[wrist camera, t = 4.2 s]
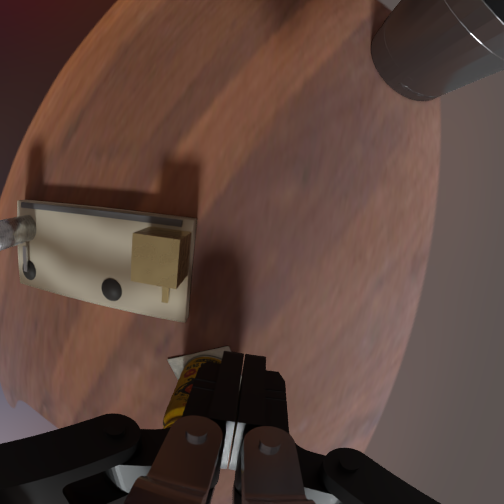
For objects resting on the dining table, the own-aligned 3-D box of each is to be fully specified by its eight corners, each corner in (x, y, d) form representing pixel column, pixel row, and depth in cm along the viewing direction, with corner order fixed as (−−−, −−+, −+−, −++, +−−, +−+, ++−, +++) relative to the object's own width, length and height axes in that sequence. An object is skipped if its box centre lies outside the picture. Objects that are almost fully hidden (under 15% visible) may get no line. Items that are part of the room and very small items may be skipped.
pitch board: (25, 199, 28) (15, 200, 26) (197, 218, 28) (192, 220, 26) (27, 279, 30) (18, 283, 29) (188, 316, 30) (184, 323, 29)
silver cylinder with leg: (19, 213, 27) (-16, 221, 21) (36, 215, 27) (0, 223, 21) (21, 267, 28) (-12, 282, 23) (37, 272, 28) (4, 288, 23)
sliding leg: (150, 226, 27) (132, 233, 23) (192, 231, 27) (180, 239, 23) (146, 297, 28) (130, 313, 24) (185, 304, 28) (174, 322, 24)
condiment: (228, 344, 31) (211, 423, 19) (253, 402, 33) (249, 482, 21) (167, 358, 32) (130, 430, 20) (196, 412, 33) (176, 487, 22)
